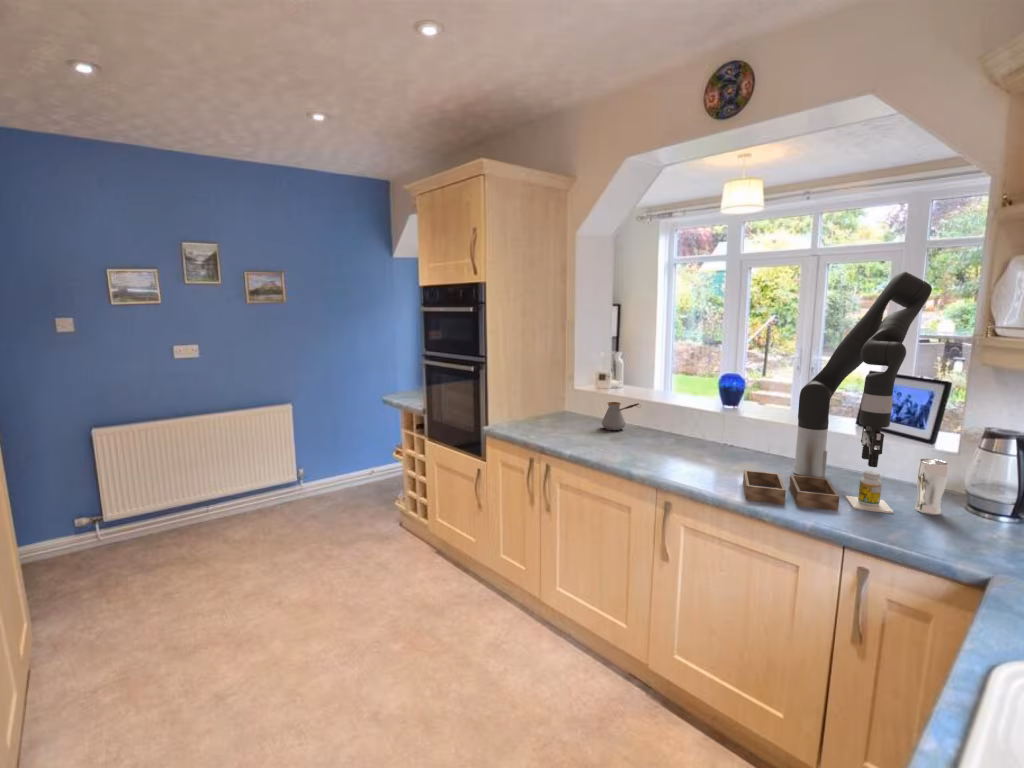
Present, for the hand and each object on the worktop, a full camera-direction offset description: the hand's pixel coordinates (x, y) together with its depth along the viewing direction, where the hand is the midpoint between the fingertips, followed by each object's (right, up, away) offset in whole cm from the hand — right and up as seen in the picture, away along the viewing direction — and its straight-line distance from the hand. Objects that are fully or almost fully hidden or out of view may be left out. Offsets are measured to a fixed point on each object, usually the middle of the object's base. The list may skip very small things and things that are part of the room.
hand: (869, 462), depth 157 cm
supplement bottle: (+1, -13, +2) cm, 13 cm away
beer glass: (+16, -14, -2) cm, 21 cm away
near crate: (-13, -12, +7) cm, 19 cm away
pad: (+1, -13, +2) cm, 13 cm away
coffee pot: (-54, +1, +95) cm, 110 cm away
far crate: (-26, -12, +12) cm, 31 cm away
